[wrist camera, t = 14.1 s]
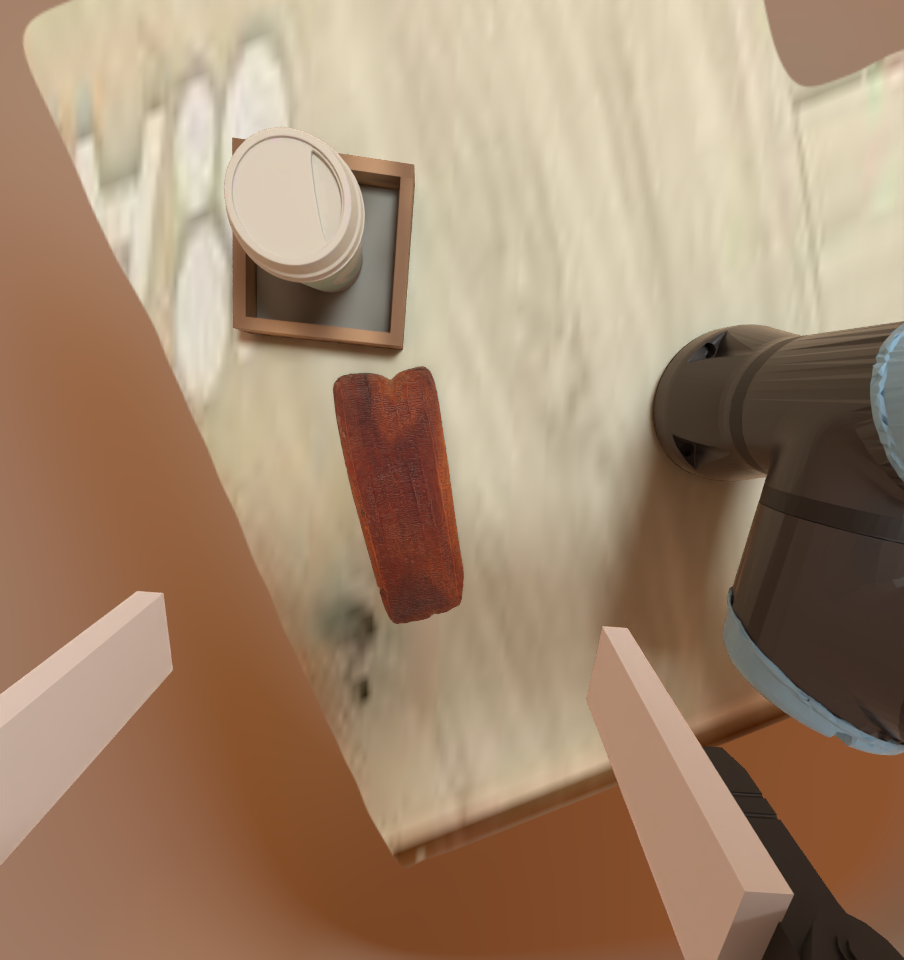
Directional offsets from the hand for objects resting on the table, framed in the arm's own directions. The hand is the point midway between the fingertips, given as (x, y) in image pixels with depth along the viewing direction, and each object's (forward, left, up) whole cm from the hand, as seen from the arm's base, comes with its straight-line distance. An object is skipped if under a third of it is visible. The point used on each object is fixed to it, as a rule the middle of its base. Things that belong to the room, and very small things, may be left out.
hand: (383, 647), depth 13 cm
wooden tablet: (0, +4, -32) cm, 32 cm away
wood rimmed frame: (+8, -18, -31) cm, 37 cm away
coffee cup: (+8, -18, -30) cm, 36 cm away
